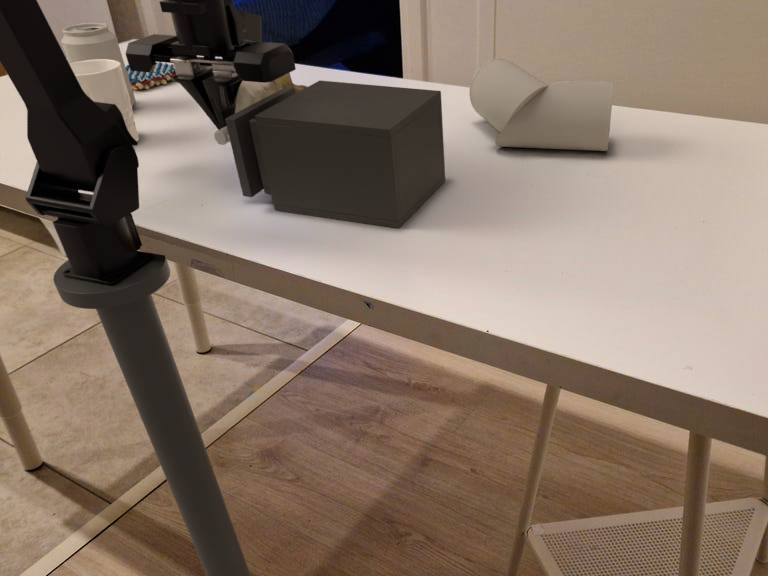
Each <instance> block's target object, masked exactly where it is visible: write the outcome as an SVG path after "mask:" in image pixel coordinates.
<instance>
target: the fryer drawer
mask: <svg viewBox="0 0 768 576" xmlns="http://www.w3.org/2000/svg"><path fill="white" fill-rule="evenodd" d="M294 94H296V93H295V88H293V87H285V88H283V89H281V90H279V91H277V92H275V93H273V94H271V95H270V96H268V97H266V98H264V99H262V100H260V101H258V102H256V103H254V104H252V105H250V106H248V107H247V108H245V109H243V110H241V111H239V112H237V113H235V114H233V115H231V116H229V117H227V118H226V119H225V121H226V125H227V126H225V127H224V128H222V129H220V130H218V129H217V130H216V131H215V132H214V135H213V136H214V140H215V141H216V143H217V144H218V145H221V146H224V145H226V144H228V143H229V142H230V145H231V146H230V147H231V150H232V155H233V159H234V163H235V167H236V171H237V175H238V180H239V184H240V188H241V193H242V196H243V197H247V198H253V197H254V196H256V195H257V194H259V193H260V192H262V191H263V192H264V195H270V196H272V194H271V190H270V185H269V180H268V175H267V171H266V166H265V161H264V156H263V152H262V147H261V142H260V137H259V132H258V128H257V123H256V118H255V115H257V114H259V113H261V112H263V111H264V110H266V109H268V108H270V107H272V106H274V105H275V104H277V103H279V102H281V101H283V100H285V99H286V98H288V97H290V96H292V95H294Z"/></svg>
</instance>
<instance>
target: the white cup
mask: <svg viewBox="0 0 768 576" xmlns="http://www.w3.org/2000/svg"><path fill="white" fill-rule="evenodd" d="M70 66H71V68H72V70H73V72H74V74H75V76H76V78H77V80H78V82H79V84H80V86H81V88H82V89H83V91H84V92H85V94H86V95H87V96H88V97H89V98H91V99H92V100H93V101H94V102H101V103H109V104H115V105H116V106H117V107H118V109H119V110H120V111H121V113H122V115H123V118H124V121H125V124H126V127H127V129H128V131H129V133H130V134H131V136H132V137H133V138H134V139H135V140H136V141H137V142H138V141H140V138H139V137H140V136H139V133H138V130H137V126H136V122H135V115H134V110H133V106H131V103H130V97H129V93H128V90H127V86H126V82H125V79H124V75H123V71H122V67H121V63H120V62H118V61H115V60H109V59H96V60H85V61H79V62H74V63H70Z"/></svg>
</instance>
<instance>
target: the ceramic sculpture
mask: <svg viewBox="0 0 768 576" xmlns="http://www.w3.org/2000/svg"><path fill="white" fill-rule="evenodd" d="M285 87H293V88H295V93H297V92H299V91H301V90H303V89H305V88H307V87H308V86H307V85H304V84H295V83H293V79H292V76H291V72H290V73H288V74H286V75H284V76H282V77H280V78H278V79H276V80H274V81H272V82H266V83H262V82H250V81H242V83H241V85H240V88H239V92H238V96H237V101H236V109H235V113H237V112H239V111H241V110H243V109H245V108H247V107H248V106H250V105H252V104H254V103H256V102H258V101H260V100H262V99H264V98H266V97H268V96H270V95H271V94H273V93H275V92H277V91H279V90H281V89H283V88H285Z"/></svg>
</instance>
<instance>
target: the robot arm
mask: <svg viewBox="0 0 768 576" xmlns="http://www.w3.org/2000/svg"><path fill="white" fill-rule="evenodd" d="M159 6H160V10H161V13H167V14H169V13H170V15H171V20H172V24H173V27H174V31H175V35H171V34H158V33H153V34H150V35H147V36H144V37H142V38H138V39H136V40H132V41H130V42H128V43H127V47H126V50H125V57H126V59H127V65H129V67H130V70H131V71H139V72H152V71H153V69H154V67H155V65H156V62H157V63H159V62H161V63H167V64H173V65H174V67H175V71H176V75H175V76H173V77H172V78H173V81H172V82H174V83H178V84H180V85H181V87H183V89H184V90H185V91H186V92H187V93H188V94H189V95H190V97H191V98H192V99H193V100H194V101H195V103H196V104H197V105H198V106H199V107H200V108H201V110H202V111H203V112H204V113H205V115H206V116H207V117H208V119H209V120H210V122H211V123H213V125H214V126H215V128H216V129H217V131H218V130H220V129H222V128H224V127H225V126H227V125H226V121H225V119H226V118H227V117H229V116H231V115H233V114H235V109H236V101H237V96H238V92H239V88H240V85H241V83H242V81H250V82H262V83H266V82H272V81H274V80H276V79H278V78H280V77H282V76H284V75H286V74H288V73H290V74H291V73H292V72H294V71H295V70H296V64H295V58H294V53H293V51H292V50H291V48H290V47H289V46H288V44H286V43H284V42H283V43H282V42H269V41H268V42H267V41H263V39H262V34H263V33H262V29H263V27H262V24H263V23H262V20H263V19H262V16H261V15H258V14H254V13H251V12H249V11H245V10H241V9H236V7H235V3H234V0H160V1H159ZM246 44H249V45H248V46H246V47H243V48H240V49H235V47H241V46H244V45H246ZM0 64H1V66H2V67H3V70H5V72H6V73H7V76H8V78H9V79H10V81H11V83H12V85H13V86H14V88H15V90H16V91H17V92H18V95H19V96H20V98H21V100H22V102H23V104H24V105H25V108H26V127H27V128H26V137H27V141H28V143H29V145H30V148H31V151H32V153H33V155H34V157H35V160H36V164H35V167H34V170H33V172H32V176H31V179H30V182H29V185H28V189H27V191H26V195H25V201H26V202H27V204H28V205H29V206H30V207H31V208H32V209H33V211H34V212H35V213H36V214H37V215H39V216H48V217H53V218H57V219H56V220H54V221H53V222H52V225H53V227H54V230H55V232H56V234H57V237H58V238H59V241H60V243H61V246H62V248H63V250H64V253H65V256H66V258H67V261H68V260H69V263H70V265H71V267H70V268H68V269H66V270H65V271H63V275H64V277H65V278H70V279H76V280H81V281H86V282H91V283H96V284H101V285H107V286H114V285H117V284H118V283H120V282H121V281H123V280H124V279H126V278H127V277H129V276H130V275H131V274H133V273H134V272H136V271H137V270H139V269H140V268H142V267H143V266H145V265H146V264H148V263H149V262H151V261H152V260H153V259H155V255H154V254H155V253H153V252H147V251H142V250H140V249H141V247H142V246H143V244H142V240H141V238H140V235H139V232H138V229H137V226H136V223H135V220H134V218H133V215H132V214H133V213H134V212H136V211H137V210H139V209H140V193H139V174H138V173H139V171H138V169H139V167H140V164H139V158H138V155H137V151H136V149H135V148H134V146H138V141H136V140H135V139H134V138H133V137H132V136H131V134H130V133H129V131H128V129H127V127H126V124H125V121H124V118H123V115H122V113H121V111H120V110H119V109H118V107H117V106H116V105H115V104H109V103H101V102H94V101H93V100H92V99H91V98H89V97H88V96H87V95H86V94H85V92H84V91H83V89H82V88H81V86H80V84H79V82H78V80H77V78H76V76H75V74H74V72H73V70H72V68H71V66H70V64H69V62H68V60H67V57H66V54H65V52H64V50H63V48H62V47H61V45H60V43H59V41H58V39H57V37H56V35H55V33H54V31H53V29H52V27H51V25H50V23H49V21H48V20H47V18H46V15H45V14H44V11H43V10H42V7H41V5H40V4H39V1H38V0H0ZM81 191H82V192H81ZM85 192H87V193H85ZM88 192H89V193H88ZM91 193H92V194H91Z"/></svg>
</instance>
